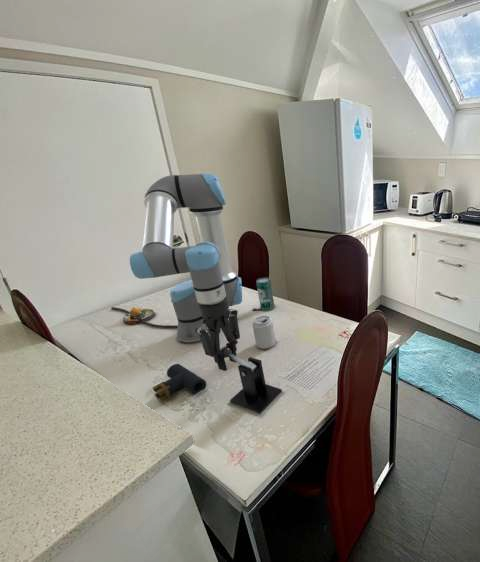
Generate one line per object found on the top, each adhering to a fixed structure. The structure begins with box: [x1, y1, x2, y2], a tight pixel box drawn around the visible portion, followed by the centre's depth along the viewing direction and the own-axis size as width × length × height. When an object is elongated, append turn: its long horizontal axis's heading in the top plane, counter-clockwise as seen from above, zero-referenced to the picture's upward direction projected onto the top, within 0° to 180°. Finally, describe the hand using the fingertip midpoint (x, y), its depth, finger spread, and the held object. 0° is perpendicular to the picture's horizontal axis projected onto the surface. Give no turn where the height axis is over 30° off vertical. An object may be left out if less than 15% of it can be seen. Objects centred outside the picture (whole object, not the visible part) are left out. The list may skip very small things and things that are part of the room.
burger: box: [122, 306, 155, 325], centre depth 146 cm, size 12×12×8 cm
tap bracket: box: [229, 356, 283, 415], centre depth 97 cm, size 12×10×14 cm
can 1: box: [255, 277, 275, 312], centre depth 152 cm, size 6×6×15 cm
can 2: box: [252, 315, 277, 350], centre depth 124 cm, size 8×8×12 cm
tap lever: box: [220, 345, 257, 373], centre depth 96 cm, size 13×4×4 cm, turn 68°
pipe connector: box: [152, 363, 207, 403], centre depth 102 cm, size 12×5×15 cm
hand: (228, 365), depth 99 cm, fingers closed on tap lever, 4 cm apart
